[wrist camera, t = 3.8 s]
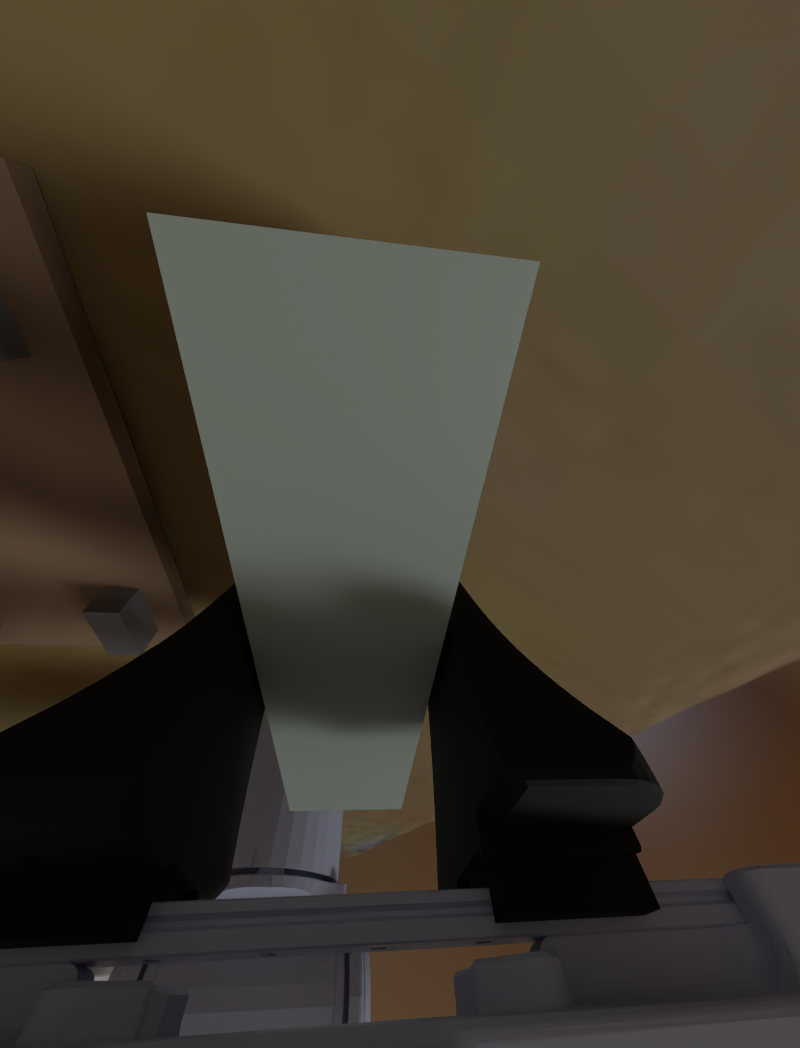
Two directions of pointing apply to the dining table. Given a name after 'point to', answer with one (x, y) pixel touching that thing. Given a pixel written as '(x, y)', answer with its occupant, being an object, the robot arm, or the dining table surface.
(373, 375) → the block
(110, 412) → the cradle board
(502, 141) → the dining table surface
